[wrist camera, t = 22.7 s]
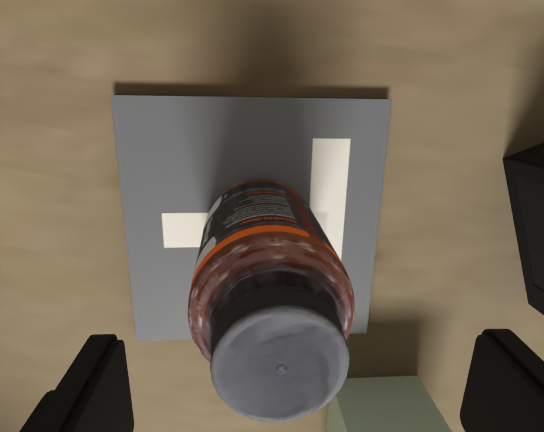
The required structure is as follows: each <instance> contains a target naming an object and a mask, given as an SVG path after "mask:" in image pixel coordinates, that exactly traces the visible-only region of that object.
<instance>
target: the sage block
mask: <svg viewBox="0 0 544 432" xmlns="http://www.w3.org/2000/svg"><path fill="white" fill-rule="evenodd" d="M326 432H452V431H451V429H450V428H449V426H448V424H447V423H446V421H445V420H444V418H443V416H442V415H441V413H440V412H439V410H438V408H437V407H436V405H435V403H434V402H433V400H432V399H431V397H430V395H429V394H428V392H427V391H426V389H425V387H424V386H423V384H422V383H421V381H420V379H419V378H418V376H393V377H367V378H346V379H345V381H344V383H343V385H342V387H341V389H340V390H339V391H338V392H337V394H336V395H335V396H334V397H333V399H332V400H331V401H330V402H329V403H328V415H327V426H326Z"/></svg>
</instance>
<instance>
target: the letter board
mask: <svg viewBox="0 0 544 432" xmlns="http://www.w3.org/2000/svg"><path fill="white" fill-rule="evenodd" d="M110 96H111V105H112V114H113V124H114V133H115V142H116V151H117V161H118V170H119V179H120V188H121V198H122V207H123V216H124V225H125V235H126V244H127V253H128V262H129V271H130V281H131V290H132V299H133V308H134V318H135V327H136V336H137V341H162V340H190V339H192V335H191V331H190V328H189V322H188V300H189V294H190V289H191V283H192V278H193V274H194V270H195V266H196V261H197V257H198V253H199V249H200V244H201V239H202V235H203V229H204V225H205V222H206V219H207V216H208V214H209V212H210V209H211V207H212V206H213V204H214V202H215V201H216V200H217V198H218V197H219V196H220V195H221V194H222V193H224V192H225V191H226V190H227V189H229V188H230V187H232V186H234V185H235V184H237V183H240V182H243V181H247V180H252V179H269V180H275V181H278V182H281V183H283V184H285V185H287V186H289V187H290V188H292V189H293V190H295V191H296V192H297V193H298V194H299V195H300V196H301V197H302V198H303V199H304V201H305V202H306V203H307V204H308V206H309V207H310V209H311V211H312V212H313V214H314V216H315V217H316V219H317V221H318V222H319V224H320V226H321V228H322V229H323V231H324V233H325V234H326V236H327V238H328V239H329V241H330V243H331V245H332V246H333V248H334V250H335V252H336V253H337V255H338V257H339V259H340V260H341V262H342V264H343V266H344V268H345V270H346V271H347V273H348V276H349V279H350V281H351V285H352V288H353V292H354V300H355V313H354V320H353V325H352V328H351V330H350V334H357V333H367V325H368V316H369V307H370V297H371V288H372V279H373V270H374V260H375V251H376V242H377V232H378V223H379V214H380V205H381V195H382V186H383V177H384V167H385V158H386V149H387V140H388V130H389V121H390V112H391V102H392V99H345V98H279V97H214V96H149V95H110Z"/></svg>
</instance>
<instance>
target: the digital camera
mask: <svg viewBox="0 0 544 432" xmlns="http://www.w3.org/2000/svg"><path fill="white" fill-rule="evenodd" d="M510 157H511V158H510ZM514 158H516V159H514ZM518 159H520V160H518ZM522 160H524V161H522ZM526 161H528V162H526ZM530 162H532V163H530ZM535 163H536V164H535ZM503 164H504V169H505V175H506V180H507V186H508V191H509V197H510V203H511V208H512V214H513V219H514V225H515V231H516V236H517V242H518V247H519V253H520V259H521V264H522V270H523V275H524V281H525V287H526V292H527V298H528V303H529V304H530V305H531V306H532V307H534V308H535V309H536V310H538V311H539V312H540V313H542V314H543V315H544V166H543V165H544V143H542V144H540V145H537V146H534V147H532V148H529V149H527V150H524V151H521V152H519V153H516V154H514V155H511V156H508V157H506V158H504V159H503ZM539 164H540V165H539Z"/></svg>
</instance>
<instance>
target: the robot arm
mask: <svg viewBox="0 0 544 432" xmlns="http://www.w3.org/2000/svg"><path fill="white" fill-rule="evenodd" d="M460 420H461V424H462V426H463V428H464V430H465V432H544V361H543V360H542V359H541V358H540V357H539V356H537V355H536V354H535V353H534V352H533V351H532V350H531V349H530V348H529V347H528V346H527V345H526V344H525V343H524V342H523V341H522V340H521V339H520V338H519V337H517V336H516V335H515V334H514V333H513V332H512V331H511V330H509V329H486V330H484V331H483V332H482V334H481V335H478V336H477V338H476V342H475V346H474V351H473V356H472V360H471V365H470V369H469V374H468V378H467V383H466V388H465V392H464V397H463V401H462V406H461V410H460ZM133 429H134V418H133V410H132V402H131V394H130V386H129V378H128V370H127V362H126V354H125V346H124V342H123V340H117V337H116V335H114V334H99V335H91V336H90V337H89V338H88V340H87V341H86V343H85V344H84V346H83V347H82V349H81V350H80V352H79V353H78V355H77V357H76V358H75V360H74V361H73V363H72V364H71V366H70V367H69V369H68V370H67V372H66V374H65V375H64V377H63V378H62V380H61V381H60V383H59V384H58V386H57V387H56V389H55V390H51V391H49V392H47V393H46V394H45V395H44V396H43V398H42V399H41V400H40V402H39V403H38V405H37V406H36V408H35V409H34V411H33V412H32V414H31V415H30V417H29V418H28V420H27V421H26V423H25V424H24V426H23V427H22V429H21V430H20V432H133Z"/></svg>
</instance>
